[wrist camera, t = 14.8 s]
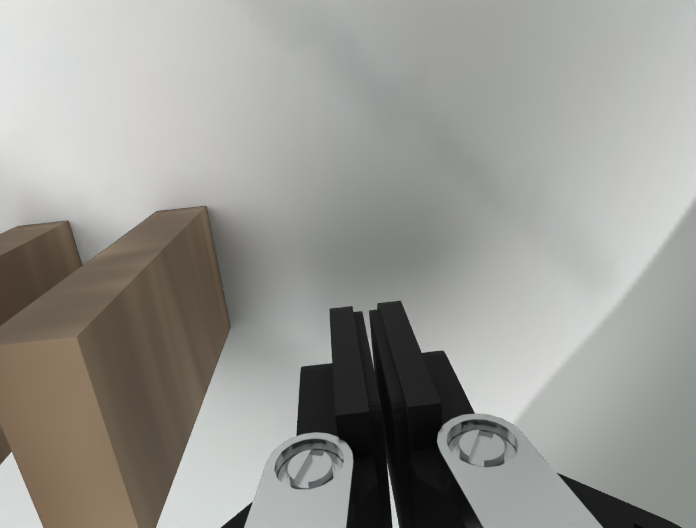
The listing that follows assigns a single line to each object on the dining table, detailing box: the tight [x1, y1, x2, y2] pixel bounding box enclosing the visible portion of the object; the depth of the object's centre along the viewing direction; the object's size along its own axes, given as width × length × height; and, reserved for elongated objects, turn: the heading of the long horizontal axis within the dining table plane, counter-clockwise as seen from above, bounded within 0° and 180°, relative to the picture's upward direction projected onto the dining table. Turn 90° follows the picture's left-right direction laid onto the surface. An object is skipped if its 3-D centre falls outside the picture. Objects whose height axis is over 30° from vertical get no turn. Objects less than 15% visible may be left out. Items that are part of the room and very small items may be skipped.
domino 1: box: [0, 206, 230, 528], centre depth 14 cm, size 2×5×10 cm, turn 6°
